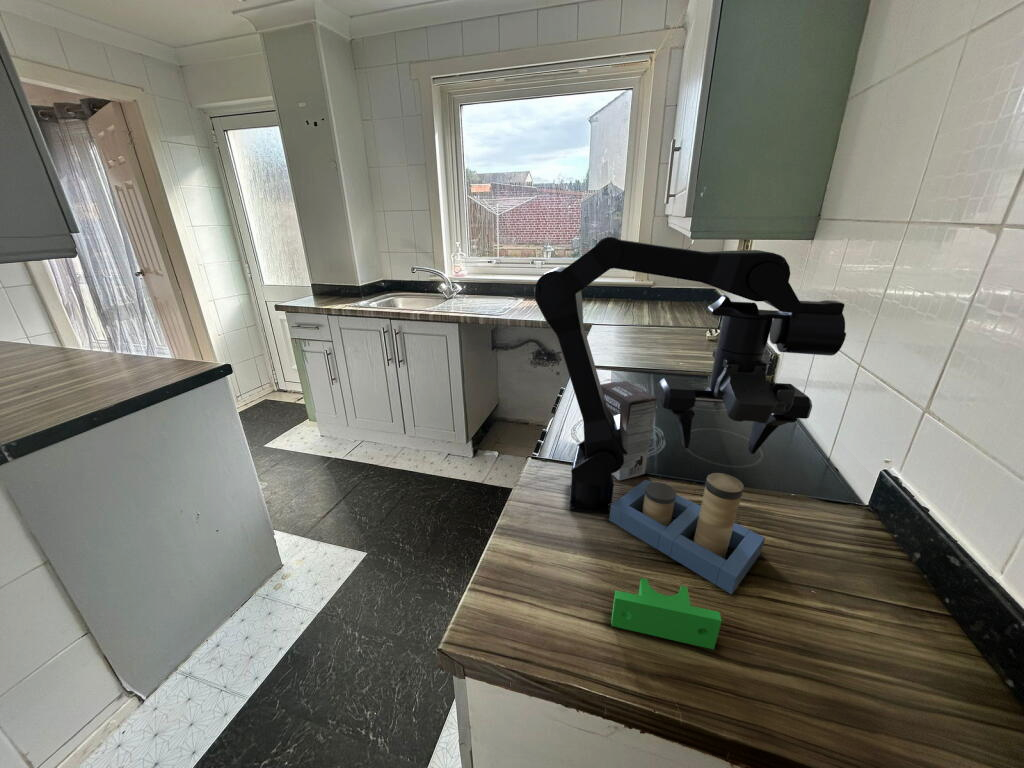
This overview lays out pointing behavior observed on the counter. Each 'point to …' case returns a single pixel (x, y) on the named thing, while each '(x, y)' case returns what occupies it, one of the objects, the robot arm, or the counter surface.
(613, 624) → the pipe clamp
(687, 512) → the socket block
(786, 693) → the counter surface
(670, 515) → the short wooden cylinder
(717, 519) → the wooden peg
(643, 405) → the coffee box
